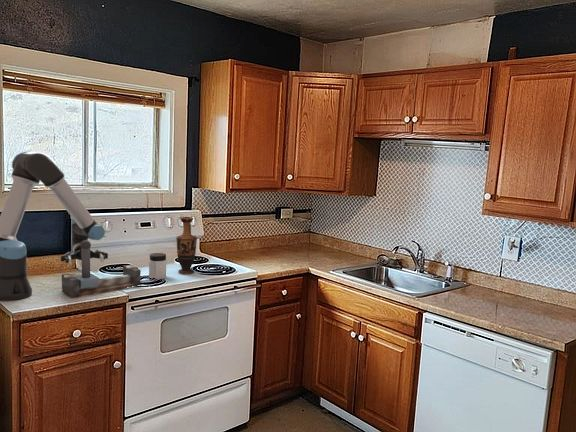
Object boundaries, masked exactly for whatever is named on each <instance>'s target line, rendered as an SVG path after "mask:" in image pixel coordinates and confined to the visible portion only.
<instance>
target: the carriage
mask: <svg viewBox="0 0 576 432" xmlns="http://www.w3.org/2000/svg"><path fill="white" fill-rule="evenodd" d="M80 246H81V258H82V260H81V274H78V275H76V278H78V279H79V284H80V288H81V289H82V288H88V287H94V286H99V279H100V278H99V277H98V276H96V275H94V274H92V273H91V258H90V250H91V247H92V243H91V241H89V240H88V241H87V240H84V241H82V242H81V244H80Z"/></svg>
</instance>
